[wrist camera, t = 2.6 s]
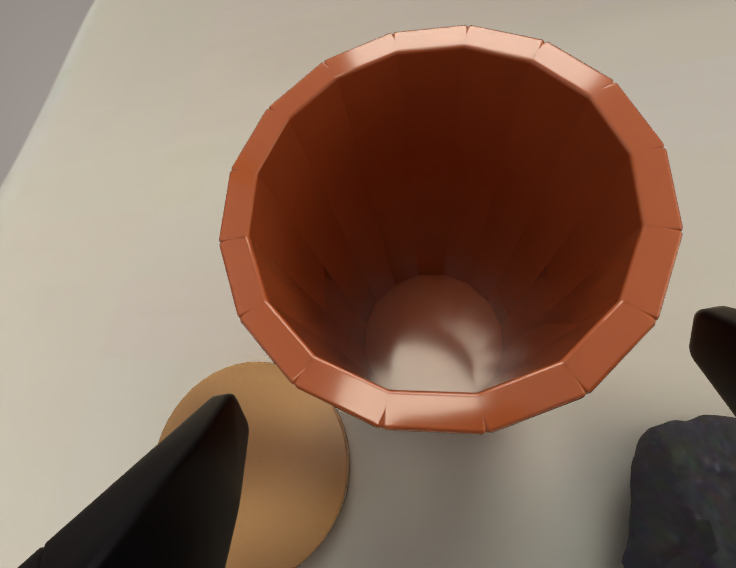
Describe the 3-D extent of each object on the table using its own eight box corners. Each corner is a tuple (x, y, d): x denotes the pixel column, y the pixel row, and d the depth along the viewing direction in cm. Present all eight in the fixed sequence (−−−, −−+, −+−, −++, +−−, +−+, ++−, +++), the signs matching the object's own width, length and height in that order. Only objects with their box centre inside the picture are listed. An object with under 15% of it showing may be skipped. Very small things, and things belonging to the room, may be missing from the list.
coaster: (379, 535, 16) (377, 539, 15) (180, 611, 16) (171, 618, 16) (314, 335, 19) (311, 333, 18) (146, 402, 19) (137, 402, 18)
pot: (539, 387, 17) (798, 315, 5) (388, 445, 17) (286, 513, 5) (470, 249, 19) (533, -29, 7) (337, 302, 19) (184, 116, 7)
